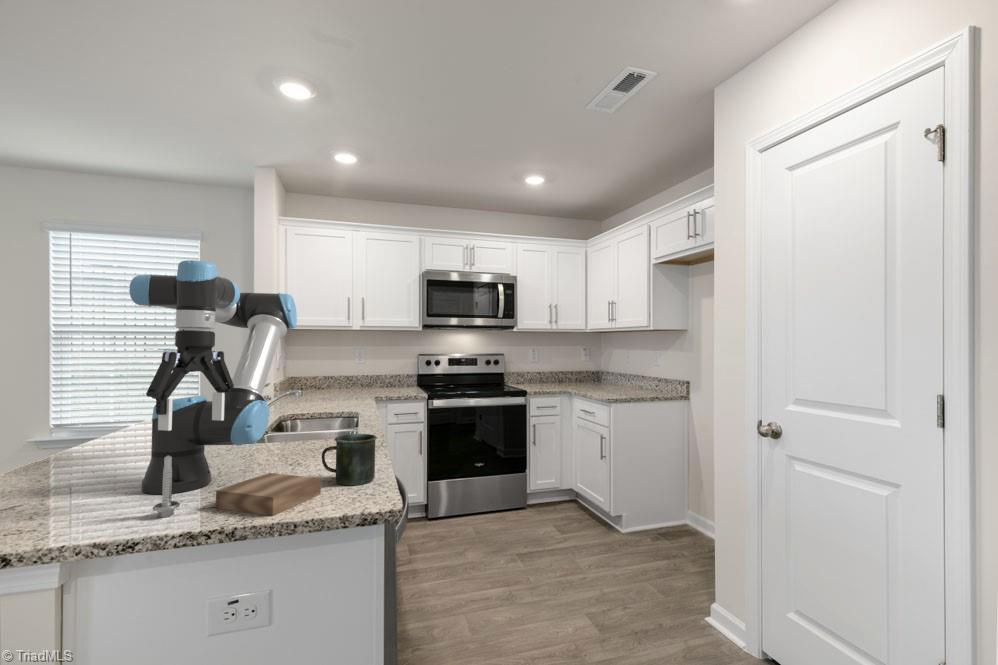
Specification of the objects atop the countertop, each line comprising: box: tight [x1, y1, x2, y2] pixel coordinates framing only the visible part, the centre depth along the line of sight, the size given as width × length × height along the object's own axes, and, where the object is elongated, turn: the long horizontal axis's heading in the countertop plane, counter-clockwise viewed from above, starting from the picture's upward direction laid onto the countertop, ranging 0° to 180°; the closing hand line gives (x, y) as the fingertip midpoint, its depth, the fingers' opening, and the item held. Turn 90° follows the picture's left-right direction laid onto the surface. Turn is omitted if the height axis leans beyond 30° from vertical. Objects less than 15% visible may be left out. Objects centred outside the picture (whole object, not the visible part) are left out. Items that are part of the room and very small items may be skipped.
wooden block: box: [215, 472, 322, 517], centre depth 112 cm, size 16×16×4 cm
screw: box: [152, 456, 181, 519], centre depth 102 cm, size 13×5×5 cm
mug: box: [321, 433, 378, 486], centre depth 129 cm, size 11×15×12 cm
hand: (193, 424), depth 104 cm, fingers open, 13 cm apart
